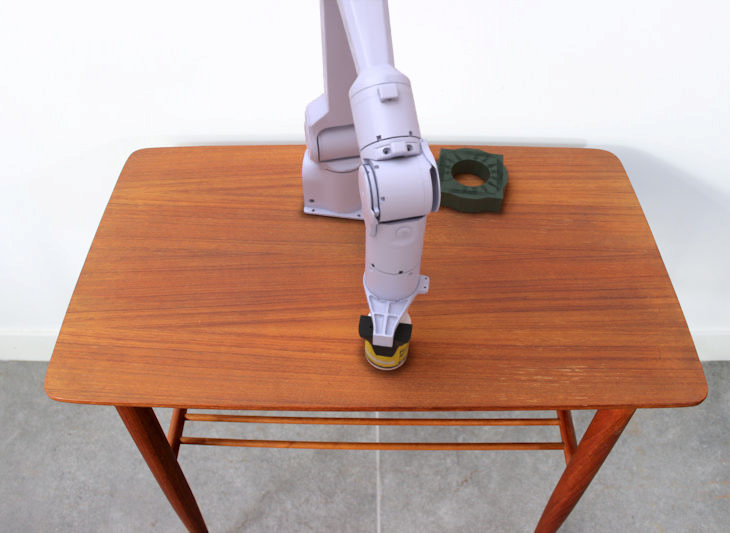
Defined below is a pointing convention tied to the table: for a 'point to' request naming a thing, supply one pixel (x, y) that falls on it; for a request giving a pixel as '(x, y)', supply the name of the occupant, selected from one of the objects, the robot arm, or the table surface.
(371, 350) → the supplement bottle
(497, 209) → the holder
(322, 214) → the robot arm
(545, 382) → the table surface
